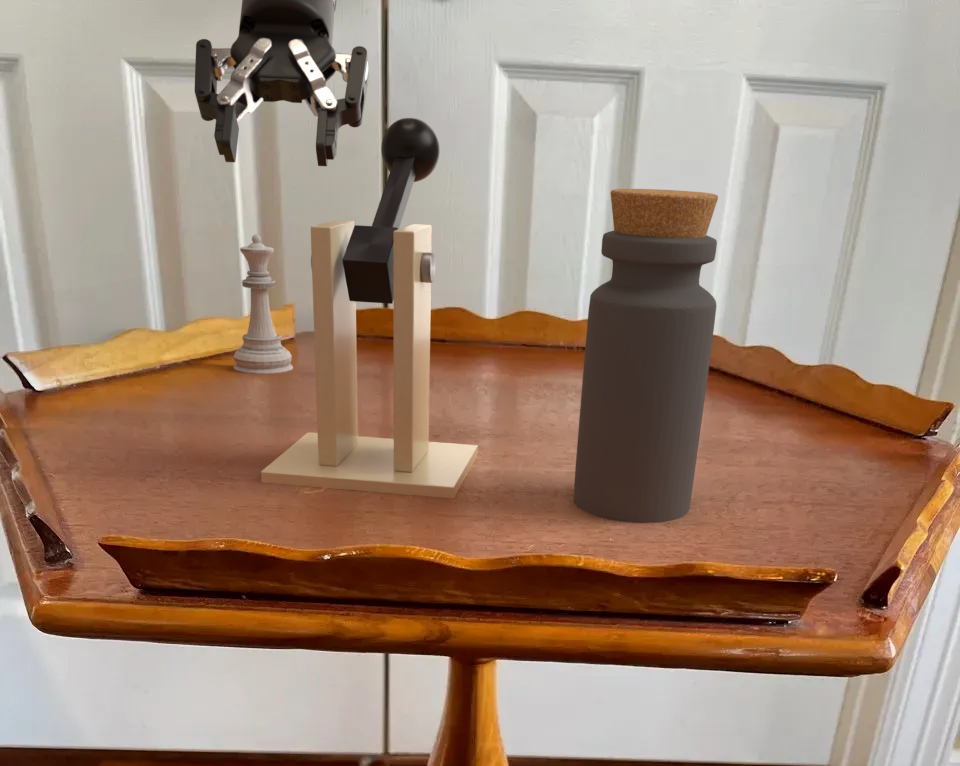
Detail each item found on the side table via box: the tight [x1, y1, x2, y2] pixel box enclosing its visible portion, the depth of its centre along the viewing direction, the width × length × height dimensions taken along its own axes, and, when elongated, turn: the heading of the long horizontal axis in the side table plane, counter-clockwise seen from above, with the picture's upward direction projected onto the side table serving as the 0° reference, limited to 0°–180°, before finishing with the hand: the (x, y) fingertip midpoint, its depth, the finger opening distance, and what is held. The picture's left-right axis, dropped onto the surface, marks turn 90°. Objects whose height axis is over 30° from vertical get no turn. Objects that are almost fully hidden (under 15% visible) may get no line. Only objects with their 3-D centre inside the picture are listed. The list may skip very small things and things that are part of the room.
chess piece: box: [233, 234, 294, 375], centre depth 75 cm, size 4×4×10 cm
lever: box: [342, 117, 441, 305], centre depth 53 cm, size 13×3×3 cm, turn 171°
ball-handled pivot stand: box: [260, 219, 479, 499], centre depth 53 cm, size 8×10×13 cm
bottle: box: [572, 188, 719, 524], centre depth 48 cm, size 6×6×15 cm
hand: (275, 156), depth 80 cm, fingers open, 6 cm apart
